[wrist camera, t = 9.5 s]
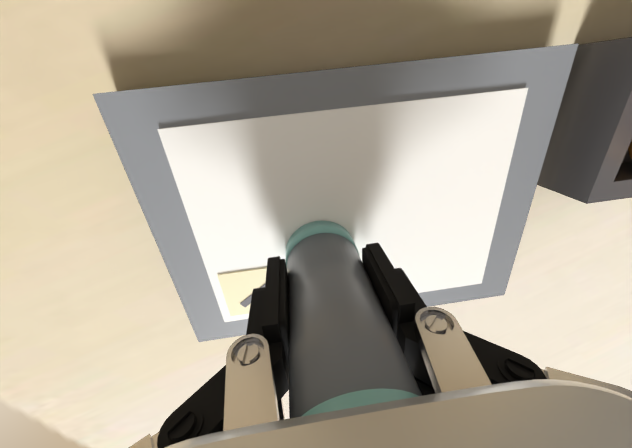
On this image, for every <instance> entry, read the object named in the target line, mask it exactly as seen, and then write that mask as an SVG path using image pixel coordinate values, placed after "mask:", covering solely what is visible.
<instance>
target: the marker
mask: <svg viewBox="0 0 632 448" xmlns="http://www.w3.org/2000/svg"><path fill="white" fill-rule="evenodd" d="M286 268H287V273H288V316H289V347H288V358H289V410H290V418H296V417H302V416H307V415H313V414H319V413H324V412H330V411H336V410H342V409H347V408H353V407H359V406H365V405H371V404H377V403H383V402H388V401H394V400H400V399H406V398H412V397H418V396H422V394H421V392H420V389H419V387H418V385H417V383H416V380H415V378H414V376H413V374H412V372H411V369H410V367H409V365H408V363H407V361H406V358H405V356H404V354H403V352H402V349H401V347H400V345H399V343H398V341H397V338H396V336H395V334H394V332H393V330H392V327H391V325H390V323H389V321H388V318H387V316H386V314H385V312H384V310H383V307H382V305H381V303H380V301H379V298H378V296H377V294H376V292H375V290H374V287H373V285H372V283H371V281H370V279H369V276H368V274H367V272H366V270H365V267H364V265H363V263H362V261H361V259H360V255H359V252H358V249H357V247H356V245H355V243H354V241H353V239H352V236H351V235H350V233H349V232H348V231H347V230H346V229H345V228H344V227H343V226H341V225H339V224H337V223H334V222H331V221H314V222H310V223H307V224H305V225H303V226H301V227H300V228H299V229H297V230H296V231H295V232H294V233H293V234H292V235H291V237H290V238H289V240H288V243H287V245H286Z"/></svg>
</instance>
